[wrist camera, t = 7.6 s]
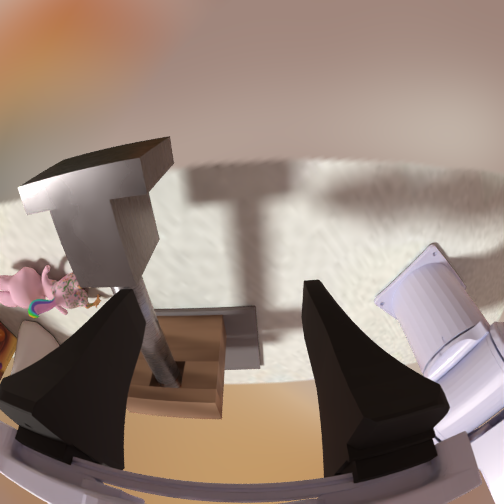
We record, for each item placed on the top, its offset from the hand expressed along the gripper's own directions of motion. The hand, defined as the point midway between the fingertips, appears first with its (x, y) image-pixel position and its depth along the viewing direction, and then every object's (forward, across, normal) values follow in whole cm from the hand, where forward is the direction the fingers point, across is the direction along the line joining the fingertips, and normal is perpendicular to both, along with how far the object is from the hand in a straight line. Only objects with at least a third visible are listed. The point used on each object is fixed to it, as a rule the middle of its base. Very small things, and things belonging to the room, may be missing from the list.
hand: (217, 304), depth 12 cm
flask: (+11, +28, +16) cm, 34 cm away
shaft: (+6, +6, +3) cm, 9 cm away
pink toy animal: (+11, +21, +6) cm, 24 cm away
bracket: (+10, +6, +12) cm, 17 cm away
